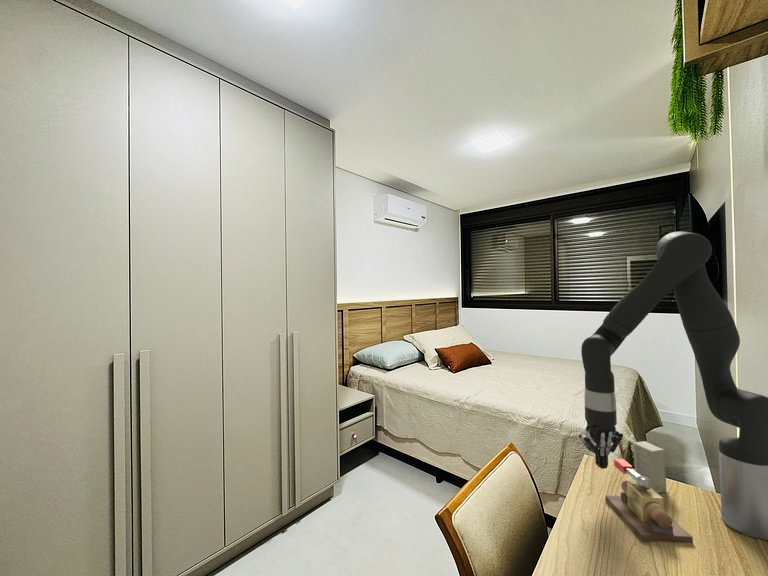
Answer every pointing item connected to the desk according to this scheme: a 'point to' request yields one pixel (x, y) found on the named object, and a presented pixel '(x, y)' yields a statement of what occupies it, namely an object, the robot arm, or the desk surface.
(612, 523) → the desk surface
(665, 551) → the desk surface
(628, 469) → the valve lever
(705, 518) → the desk surface
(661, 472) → the skincare box
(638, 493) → the valve rig
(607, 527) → the desk surface
